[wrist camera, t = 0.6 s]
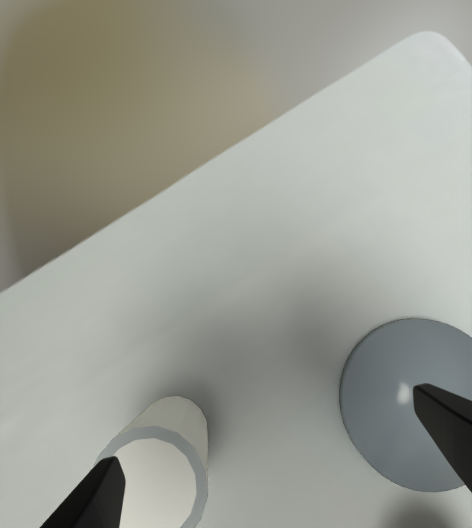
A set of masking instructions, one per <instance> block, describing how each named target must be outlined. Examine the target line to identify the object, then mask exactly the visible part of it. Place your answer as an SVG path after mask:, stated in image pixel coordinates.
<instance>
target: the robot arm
mask: <svg viewBox="0 0 472 528" xmlns="http://www.w3.org/2000/svg"><path fill="white" fill-rule="evenodd" d="M413 403H414V411H415V414H416V416H417V417H418V419H419V420H420V422H421V423H422V425H423V426H424V428H425V429H426V431H427V432H428V433H429V435H430V436H431V438H432V439H433V441H434V442H435V444H436V445H437V447H438V448H439V450H440V451H441V453H442V454H443V456H444V457H445V458H446V460H447V461H448V463H449V464H450V466H451V467H452V468H453V470H454V471H455V472H456V474H457V475H458V476H459V477H460V479H461V480H462V481H463V482H464V484H465V485H466V486H467V487H468V489H469V490H470V491H471V492H472V401H471V400H469V399H466V398H464V397H462V396H459V395H457V394H454V393H452V392H449V391H447V390H444V389H442V388H439V387H437V386H434V385H432V384H429V383H423V384H419V385H415V386H414V387H413ZM125 486H126V480H125V475H124V473H123V470H122V467H121V465H120V462H119V459H118V457H116V456H111V457H106V458H103V459H101V460H100V461H99V462H98V463H97V464H96V465H95V466H94V468H93V469H92V470H91V471H90V472H89V473H88V474H87V475H86V476H85V478H84V479H83V480H82V481H81V482H80V483H79V484H78V485H77V487H76V488H75V489H74V490H73V491H72V492H71V493H70V494H69V495H68V497H67V498H66V499H65V500H64V501H63V502H62V503H61V504H60V506H59V507H58V508H57V509H56V510H55V511H54V512H53V513H52V514H51V516H50V517H49V518H48V519H47V520H46V521H45V522H44V523H43V525H42V526H41V527H40V528H119V526H120V520H121V513H122V506H123V500H124V493H125Z"/></svg>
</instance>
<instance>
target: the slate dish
mask: <svg viewBox="0 0 472 528" xmlns="http://www.w3.org/2000/svg"><path fill="white" fill-rule="evenodd" d="M423 383H429V384H432V385H434V386H437V387H439V388H442V389H444V390H447V391H449V392H452V393H454V394H457V395H459V396H462V397H464V398H466V399H469V400H471V401H472V338H471V337H470V336H469V335H467V334H466V333H464V332H462V331H461V330H459V329H457V328H455V327H453V326H450V325H448V324H444V323H441V322H437V321H431V320H424V319H403V320H397V321H393V322H390V323H387V324H385V325H382V326H380V327H378V328H377V329H375V330H373V331H372V332H371V333H369V334H368V335H367V336H365V337H364V338H363V339H362V340H361V341H360V342H359V343H358V345H357V346H356V347H355V349H354V350H353V351H352V353H351V355H350V357H349V358H348V360H347V362H346V365H345V368H344V370H343V374H342V378H341V384H340V408H341V414H342V418H343V422H344V425H345V427H346V430H347V432H348V434H349V436H350V438H351V440H352V442H353V444H354V445H355V446H356V448H357V449H358V450H359V452H360V453H361V454H362V456H363V457H364V458H365V459H366V460H367V462H368V463H369V464H370V465H371V466H372V467H373V468H374V469H375V470H376V471H378V472H379V473H380V474H381V475H382V476H384V477H385V478H387V479H389V480H390V481H392V482H394V483H396V484H398V485H400V486H402V487H405V488H408V489H412V490H416V491H422V492H442V491H448V490H452V489H456V488H458V487H461V486H463V485H465V484H464V482H463V481H462V480H461V479H460V477H459V476H458V475H457V474H456V472H455V471H454V470H453V468H452V467H451V466H450V464H449V463H448V461H447V460H446V458H445V457H444V456H443V454H442V453H441V451H440V450H439V448H438V447H437V445H436V444H435V442H434V441H433V439H432V438H431V436H430V435H429V433H428V432H427V431H426V429H425V428H424V426H423V425H422V423H421V422H420V420H419V419H418V417H417V416H416V414H415V411H414V403H413V387H414V386H415V385H419V384H423Z"/></svg>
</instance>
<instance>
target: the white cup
mask: <svg viewBox="0 0 472 528" xmlns="http://www.w3.org/2000/svg"><path fill="white" fill-rule="evenodd" d="M111 456H116V457H118V459H119V462H120V465H121V467H122V470H123V473H124V475H125V480H126V486H125V493H124V500H123V506H122V513H121V520H120V526H119V528H195V527H196V525H197V524H198V523H199V521H200V520H201V517H202V514H203V510H204V507H205V503H206V500H207V497H208V430H207V421H206V419H205V417H204V415H203V413H202V410H201V409H200V408H199V407H198V406H197V405H196V404H195V403H194V402H192V401H191V400H189V399H186V398H183V397H180V396H170V397H164V398H162V399H160V400H158V401H156V402H154V403H153V404H151V405H150V406H149V407H148V408H147V409H146V410H145V411H144V412H142V413H141V414H140V415H139V416H138V417H137V418H136V419H135V420H133V421H132V422H131V423H130V424H129V425H128V426H127V427H126V428H125V429H123V430H122V431H121V432H120V433H119V434H118V435H117V436H116V437H115V438H113V439H112V440H111V442H110V443H109V444H108V445H107V447H106V448H105V449H104V450H103V451H102V453H101V454H100V455H99V456H98V457H97V459H96V462H95V465H96V464H97V463H98V462H99V461H100V460H101V459H103V458H106V457H111ZM95 465H94V466H95Z"/></svg>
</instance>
